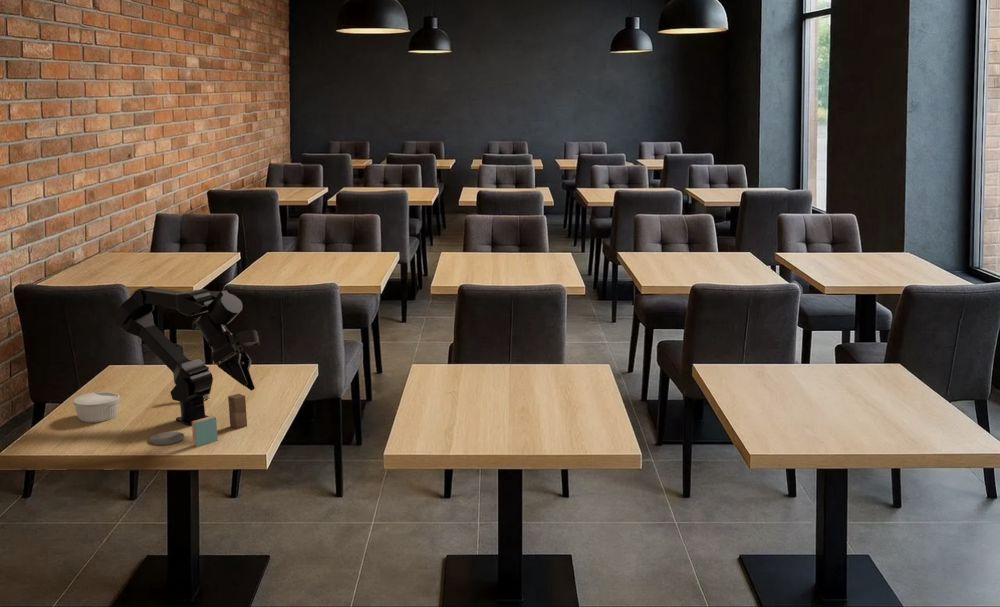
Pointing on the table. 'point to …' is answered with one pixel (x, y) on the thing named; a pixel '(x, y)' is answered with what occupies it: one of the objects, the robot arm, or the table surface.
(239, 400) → the block
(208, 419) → the tile
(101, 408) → the ramekin
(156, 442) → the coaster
